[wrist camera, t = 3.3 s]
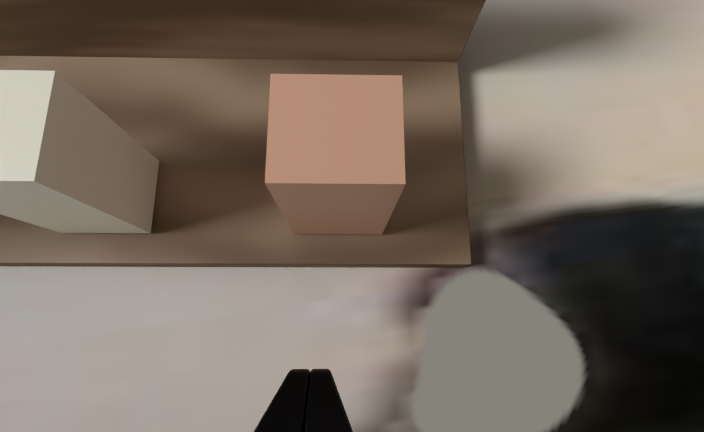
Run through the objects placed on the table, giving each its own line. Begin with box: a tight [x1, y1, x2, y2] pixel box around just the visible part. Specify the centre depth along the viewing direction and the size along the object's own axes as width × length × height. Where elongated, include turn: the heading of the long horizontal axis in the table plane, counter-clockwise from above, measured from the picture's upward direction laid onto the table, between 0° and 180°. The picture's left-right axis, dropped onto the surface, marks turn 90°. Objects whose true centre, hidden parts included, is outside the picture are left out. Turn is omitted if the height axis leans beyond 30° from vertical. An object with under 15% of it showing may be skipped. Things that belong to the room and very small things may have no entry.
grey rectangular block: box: [0, 70, 159, 233], centre depth 18 cm, size 4×5×8 cm
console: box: [0, 0, 485, 268], centre depth 18 cm, size 15×38×14 cm, turn 90°
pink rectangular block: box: [265, 74, 406, 235], centre depth 18 cm, size 4×5×8 cm
